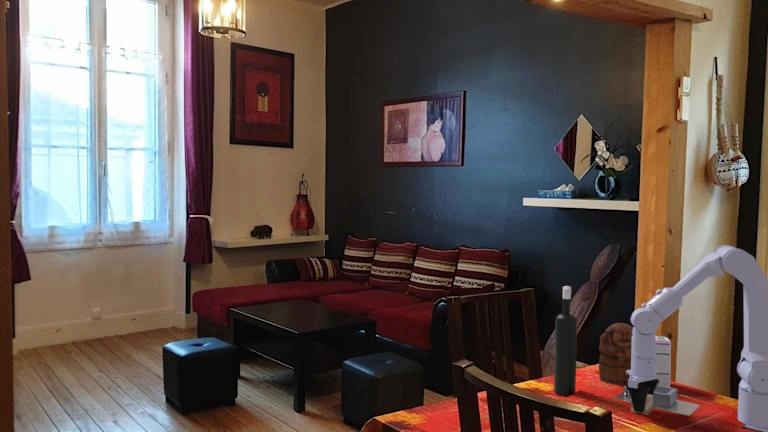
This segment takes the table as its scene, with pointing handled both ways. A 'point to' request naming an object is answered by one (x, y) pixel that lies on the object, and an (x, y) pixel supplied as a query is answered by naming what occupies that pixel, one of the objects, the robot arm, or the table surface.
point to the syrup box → (663, 360)
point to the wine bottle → (565, 348)
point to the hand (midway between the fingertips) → (641, 409)
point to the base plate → (676, 407)
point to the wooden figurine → (615, 354)
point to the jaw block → (646, 405)
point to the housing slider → (664, 395)
